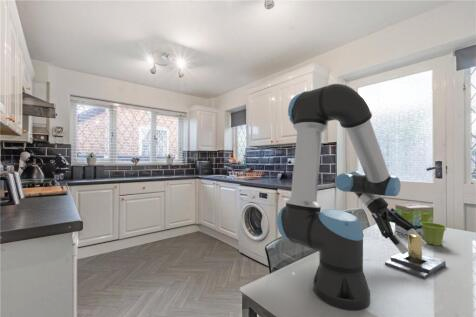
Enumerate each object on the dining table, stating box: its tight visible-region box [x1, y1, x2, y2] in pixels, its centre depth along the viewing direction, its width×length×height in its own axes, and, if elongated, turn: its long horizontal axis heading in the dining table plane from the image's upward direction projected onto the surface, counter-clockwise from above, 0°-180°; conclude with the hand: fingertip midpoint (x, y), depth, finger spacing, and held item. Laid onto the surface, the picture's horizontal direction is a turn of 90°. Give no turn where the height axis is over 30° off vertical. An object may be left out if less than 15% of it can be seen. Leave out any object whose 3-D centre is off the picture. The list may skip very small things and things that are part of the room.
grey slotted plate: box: [390, 252, 447, 273], centre depth 84 cm, size 14×12×2 cm
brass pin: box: [407, 234, 423, 265], centre depth 83 cm, size 4×4×11 cm
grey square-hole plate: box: [384, 259, 442, 280], centre depth 82 cm, size 14×12×1 cm
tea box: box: [394, 203, 435, 236], centre depth 122 cm, size 15×10×15 cm, turn 105°
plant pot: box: [420, 222, 447, 246], centre depth 106 cm, size 9×9×9 cm
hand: (415, 248), depth 84 cm, fingers open, 13 cm apart
